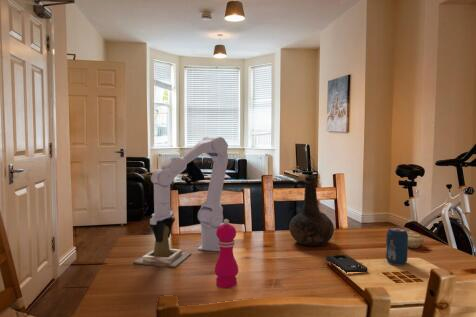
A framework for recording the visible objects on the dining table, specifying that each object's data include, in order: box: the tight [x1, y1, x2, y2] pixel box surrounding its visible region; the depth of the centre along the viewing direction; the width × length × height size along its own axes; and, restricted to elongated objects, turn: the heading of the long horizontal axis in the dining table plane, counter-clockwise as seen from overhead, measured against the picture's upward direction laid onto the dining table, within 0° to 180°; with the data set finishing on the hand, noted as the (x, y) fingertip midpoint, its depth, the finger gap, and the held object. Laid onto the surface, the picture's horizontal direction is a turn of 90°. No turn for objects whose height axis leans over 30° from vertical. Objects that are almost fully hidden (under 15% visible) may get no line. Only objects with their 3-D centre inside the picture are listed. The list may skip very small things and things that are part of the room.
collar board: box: [133, 248, 192, 269], centre depth 136 cm, size 16×14×2 cm
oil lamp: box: [406, 230, 425, 249], centre depth 153 cm, size 11×14×5 cm
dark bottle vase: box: [288, 175, 335, 247], centre depth 154 cm, size 18×18×28 cm
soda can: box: [385, 226, 409, 266], centre depth 131 cm, size 7×7×12 cm
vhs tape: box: [325, 253, 369, 273], centre depth 129 cm, size 14×8×2 cm, turn 14°
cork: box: [153, 225, 170, 257], centre depth 136 cm, size 6×6×11 cm
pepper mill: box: [214, 218, 239, 289], centre depth 113 cm, size 7×7×20 cm
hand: (162, 239), depth 136 cm, fingers closed on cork, 5 cm apart
